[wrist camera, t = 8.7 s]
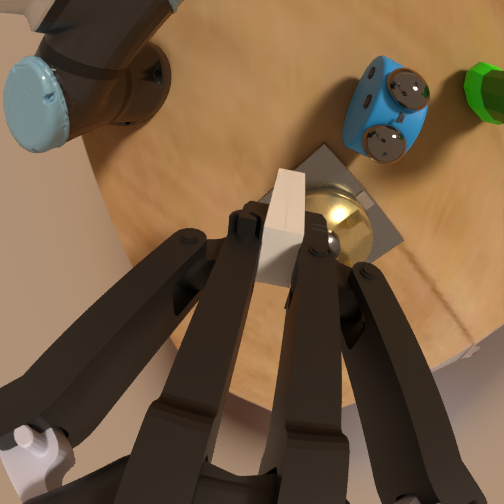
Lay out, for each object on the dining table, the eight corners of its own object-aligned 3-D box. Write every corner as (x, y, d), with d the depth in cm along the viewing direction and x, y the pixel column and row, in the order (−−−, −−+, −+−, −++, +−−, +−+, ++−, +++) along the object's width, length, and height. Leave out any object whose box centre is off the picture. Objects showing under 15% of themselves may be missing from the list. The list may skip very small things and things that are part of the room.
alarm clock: (371, 149, 37) (401, 188, 25) (334, 133, 37) (350, 163, 25) (403, 76, 29) (451, 81, 17) (365, 56, 29) (399, 48, 17)
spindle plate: (237, 220, 49) (235, 224, 48) (323, 142, 38) (324, 144, 37) (319, 292, 55) (319, 296, 54) (402, 237, 45) (404, 241, 44)
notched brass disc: (317, 283, 52) (317, 308, 47) (256, 228, 48) (249, 250, 42) (387, 237, 44) (395, 260, 39) (328, 167, 39) (332, 183, 34)
